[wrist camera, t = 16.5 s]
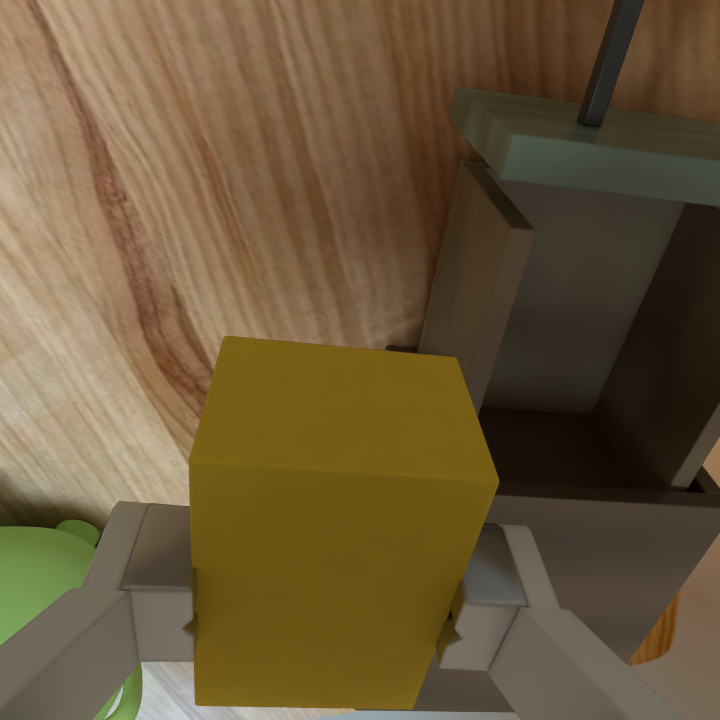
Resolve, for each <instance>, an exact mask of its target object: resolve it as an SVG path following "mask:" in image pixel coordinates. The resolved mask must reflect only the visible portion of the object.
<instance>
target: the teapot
mask: <svg viewBox="0 0 720 720" xmlns="http://www.w3.org/2000/svg"><path fill="white" fill-rule="evenodd" d="M99 539H100V534H99V532H98V530H97V529H96V528H95V527H94V526H93V525H91V524H89V523H87V522H85V521H81V520H66V521H63V522H61V523H60V524H58V525H57V527H56V529H51V528H41V527H21V526H4V527H0V645H1V644H3V643H4V642H5V641H6V640H8V639H9V638H10V637H11V636H13V635H14V634H15V633H16V632H17V631H19V630H20V629H21V628H22V627H24V626H25V625H26V624H27V623H28V622H30V621H31V620H32V619H33V618H35V617H36V616H37V615H38V614H40V613H41V612H42V611H43V610H44V609H46V608H47V607H48V606H49V605H51V604H52V603H53V602H54V601H55V600H57V599H58V598H59V597H60V596H62V595H63V594H64V593H65V592H67V591H68V590H69V589H70V588H75V589H80V588H81V586H82V583H83V581H84V578H85V576H86V573H87V571H88V568H89V566H90V563H91V561H92V559H93V556H94V554H95V551H96V548H95V547H94V546H95V545H96V544H97V542H98V541H99ZM122 686H123V693H122V697H121V700H120V703H119V705H118V707H117V709H116V710H115V711H114V712H113V713H112V714H111V715H110V716H109V717H108V718H106V719H105V720H135V718H136V716H137V713H138V711H139V707H140V703H141V698H142V668H141V662H138V666H137V667H136V668H135V670H134V671H133V672H132V673H131V674H130V675H129V677H128V678H127V679H126V680H125V681H124V685H123V684H122V685H121V686H120V687H119V688H118V690H117V691H116V692H115V693H114V694H113V696H112V697H111V698H110V699H109V700H108V701H107V703H106V704H105V705H104V706H103V707H102V709H101V710H100V711H99V712H98V713H97V715H96V716H95V717H94V718H93V719H92V720H104V718H105V717H106V715H107V713H108V712H109V710H110V708H111V707H112V705H113V704H114V702H115V700H116V698H117V696H118V694H119V692H120V690H121V688H122Z"/></svg>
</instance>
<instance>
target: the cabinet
mask: <svg viewBox="0 0 720 720" xmlns="http://www.w3.org/2000/svg"><path fill="white" fill-rule="evenodd" d="M385 351H394V352H405V353H415V354H417V352H418V349H413V348H402V347H390V346H387V347H386V350H385ZM484 523H495V524H497V525H498V524H506V525H524V526H527V527H528V528H529V529H530V530H531V532H532V535H533V537H534V540H535V543H536V545H537V548H538V550H539V553H540V556H541V558H542V561H543V564H544V566H545V569H546V571H547V574H548V577H549V579H550V582H551V585H552V587H553V590H554V592H555V595H556V598H557V600H558V603H559V606H560V608H561V609H569V610H570V611H571V612H572V613H573V614H575V615H576V616H577V617H578V618H579V619H580V620H581V621H582V622H583V623H584V624H585V625H586V626H587V627H588V628H589V629H590V630H591V631H592V632H593V633H594V634H595V635H597V636H598V637H599V638H600V639H601V640H602V641H603V642H604V643H605V644H606V645H607V646H608V647H609V648H610V649H611V650H612V651H613V652H614V653H615V654H616V655H617V656H619V657H620V658H621V659H622V660H623V661H624V662H625V663H626V664H627V663H628V662H629V660H630V659H631V657H632V656H633V654H634V653H635V652H636V650H637V649H638V647H639V646H640V645H641V643H642V642H643V640H644V639H645V638H646V636H647V635H648V633H649V632H650V630H651V629H652V628H653V626H654V625H655V623H656V622H657V621H658V619H659V618H660V616H661V615H662V614H663V612H664V611H665V609H666V608H667V606H668V605H669V604H670V602H671V601H672V599H673V598H674V597H675V595H676V594H677V592H678V591H679V590H680V588H681V587H682V585H683V584H684V582H685V581H686V580H687V578H688V577H689V575H690V574H691V573H692V571H693V570H694V568H695V567H696V566H697V564H698V563H699V561H700V560H701V558H702V557H703V556H704V554H705V553H706V551H707V550H708V549H709V547H710V546H711V544H712V543H713V541H714V540H715V539H716V537H717V536H718V535H719V533H720V488H719V487H718V485H717V484H716V483H715V481H714V480H713V479H712V478H711V476H710V475H709V474H708V472H707V471H706V470H705V468H704V467H703V466H701V468H700V469H699V471H698V472H697V474H696V476H695V477H694V479H693V480H692V482H691V484H690V485H689V487H688V488H687V490H686V492H674V491H658V490H641V489H625V488H608V487H592V486H575V485H559V484H542V483H526V482H510V481H499V485H498V487H497V490H496V493H495V495H494V498H493V500H492V503H491V506H490V508H489V511H488V513H487V516H486V519H485V521H484ZM488 672H489V671H476V670H459V669H441V668H439V663H438V657H437V652H436V649H435V652H434V655H433V657H432V660H431V662H430V665H429V668H428V670H427V673H426V675H425V678H424V681H423V683H422V686H421V689H420V691H419V694H418V696H417V699H416V702H415V704H414V707H413V709H355V710H369V711H446V712H447V711H448V712H449V711H450V712H515V711H514V710H513V708H512V707H511V705H510V704H509V703H508V701H507V700H506V699H505V697H504V696H503V694H502V693H501V692H500V690H499V689H498V687H497V686H496V685H495V683H494V682H493V680H492V679H491V678H490V676H489V675H488Z"/></svg>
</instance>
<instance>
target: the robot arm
mask: <svg viewBox="0 0 720 720" xmlns="http://www.w3.org/2000/svg"><path fill="white" fill-rule="evenodd" d="M197 597H198V587H197V568H194V567H192V564H191V529H190V506H179V505H167V504H156V503H139V502H126V501H119V502H118V503H117V504H116V505H115V507H114V508H113V509H112V512H111V514H110V517H109V519H108V521H107V524H106V526H105V529H104V531H103V534H102V536H101V539H100V541H99V544H98V546H97V549H96V551H95V554H94V556H93V559H92V561H91V563H90V566H89V568H88V571H87V573H86V576H85V578H84V581H83V583H82V586H81V588H80V589H75V588H70V589H69V590H68V591H67V592H65V593H64V594H63V595H62V596H60V597H59V598H58V599H57V600H55V601H54V602H53V603H52V604H51V605H49V606H48V607H47V608H46V609H44V610H43V611H42V612H41V613H40V614H38V615H37V616H36V617H35V618H33V619H32V620H31V621H30V622H28V623H27V624H26V625H25V626H24V627H22V628H21V629H20V630H19V631H17V632H16V633H15V634H14V635H13V636H11V637H10V638H9V639H8V640H6V641H5V642H4V643H3V644H1V645H0V720H92V719H93V718H94V717H95V716H96V715H97V713H98V712H99V711H100V710H101V709H102V707H103V706H104V705H105V704H106V703H107V701H108V700H109V699H110V698H111V697H112V696H113V694H114V693H115V692H116V691H117V690H118V688H119V687H120V686H121V685H122V684H123V683H124V681H125V680H126V679H127V678H128V677H129V675H130V674H131V673H132V672H133V671H134V670H135V668H136V667H137V666H138V662H194V657H195V652H196V647H197V642H198V613H196V612H195V606H196V602H197ZM450 608H451V610H450V613H449V615H448V618H447V620H446V621H445V622H444V623H443V626H442V629H441V632H440V634H439V637H438V640H437V642H436V645H435V646H436V652H437V657H438V663H439V668H441V669H459V670H476V671H489V672H488V675H489V676H490V678H491V679H492V680H493V682H494V683H495V685H496V686H497V687H498V689H499V690H500V692H501V693H502V694H503V696H504V697H505V699H506V700H507V701H508V703H509V704H510V705H511V707H512V708H513V710H514V711H515V712H516V714H517V715H518V717H519V718H520V719H521V720H685V719H684V718H682V717H681V716H680V715H679V714H678V713H677V712H676V711H675V710H674V709H673V708H672V707H671V706H670V705H669V704H668V703H667V702H666V701H665V700H663V698H662V697H660V696H659V695H658V694H657V693H656V692H655V691H654V690H653V689H652V688H651V687H650V686H649V685H648V684H647V683H646V682H645V681H644V680H643V679H642V678H640V676H638V675H637V674H636V673H635V672H634V671H633V670H632V669H631V668H630V667H629V666H628V665H627V664H626V663H625V662H624V661H623V660H622V659H621V658H620V657H619V656H617V655H616V654H615V653H614V652H613V651H612V650H611V649H610V648H609V647H608V646H607V645H606V644H605V643H604V642H603V641H602V640H601V639H600V638H599V637H598V636H597V635H595V634H594V633H593V632H592V631H591V630H590V629H589V628H588V627H587V626H586V625H585V624H584V623H583V622H582V621H581V620H580V619H579V618H578V617H577V616H576V615H575V614H573V613H572V612H571V611H570V610H569V609H561V608H560V606H559V603H558V600H557V598H556V595H555V592H554V590H553V587H552V585H551V582H550V579H549V577H548V574H547V571H546V569H545V566H544V564H543V561H542V558H541V556H540V553H539V550H538V548H537V545H536V543H535V540H534V537H533V535H532V532H531V530H530V529H529V528H528V527H527V526H524V525H506V524H498V525H497V524H495V523H484V524H483V527H482V529H481V532H480V534H479V537H478V540H477V542H476V545H475V547H474V550H473V553H472V555H471V558H470V561H469V563H468V566H467V568H466V571H465V574H464V576H463V579H461V580H460V582H459V584H458V587H457V590H456V592H455V595H454V597H453V600H452V602H451V605H450Z"/></svg>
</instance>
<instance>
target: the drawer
mask: <svg viewBox="0 0 720 720" xmlns="http://www.w3.org/2000/svg"><path fill="white" fill-rule="evenodd" d="M643 3H644V0H615V2H614V5H613V8H612V11H611V14H610V17H609V20H608V24H607V27H606V30H605V33H604V36H603V39H602V42H601V45H600V49H599V52H598V55H597V58H596V61H595V64H594V67H593V71H592V74H591V77H590V80H589V83H588V86H587V89H586V93H585V96H584V99H583V102H582V103H575V102H568V101H561V100H554V99H547V98H540V97H533V96H526V95H519V94H512V93H504V92H497V91H490V90H483V89H476V88H469V87H462V86H456V88H455V91H454V96H453V101H452V106H451V111H450V116H449V120H450V121H451V122H452V123H453V125H454V126H455V127H456V128H457V129H458V130H459V131H460V133H461V134H462V135H463V136H464V137H465V138H466V139H467V141H468V142H469V143H470V144H471V145H472V146H473V148H474V149H475V150H476V151H477V152H478V153H479V154H480V156H481V157H482V158H483V159H484V160H485V161H486V163H483V162H475V161H467V160H460V163H459V168H458V172H457V177H456V181H455V186H454V190H453V195H452V199H451V204H450V208H449V213H448V217H447V222H446V226H445V231H444V235H443V240H442V244H441V249H440V253H439V258H438V262H437V267H436V271H435V276H434V280H433V285H432V289H431V294H430V298H429V303H428V307H427V312H426V316H425V321H424V325H423V330H422V334H421V339H420V343H419V348H418V352H417V354H426V355H436V356H447V357H455V358H457V360H458V363H459V366H460V369H461V372H462V375H463V378H464V380H465V383H466V386H467V389H468V392H469V395H470V398H471V400H472V403H473V406H474V409H475V412H476V415H477V418H478V421H479V423H480V426H481V429H482V432H483V435H484V438H485V441H486V444H487V446H488V449H489V452H490V455H491V458H492V461H493V464H494V466H495V469H496V472H497V475H498V478H499V481H510V482H526V483H542V484H559V485H575V486H592V487H608V488H625V489H641V490H658V491H674V492H686V490H687V488H688V487H689V485H690V484H691V482H692V480H693V479H694V477H695V476H696V474H697V472H698V471H699V469H700V468H701V466H702V464H703V463H704V461H705V459H706V458H707V456H708V455H709V453H710V451H711V450H712V448H713V447H714V445H715V443H716V441H717V440H718V439H719V437H720V123H717V122H710V121H703V120H696V119H689V118H682V117H675V116H668V115H661V114H654V113H646V112H639V111H632V110H625V109H618V108H611V107H608V105H609V102H610V99H611V96H612V93H613V90H614V87H615V84H616V81H617V79H618V76H619V73H620V70H621V67H622V64H623V61H624V58H625V55H626V52H627V49H628V46H629V44H630V41H631V38H632V35H633V32H634V29H635V26H636V23H637V20H638V17H639V14H640V11H641V9H642V6H643Z"/></svg>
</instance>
